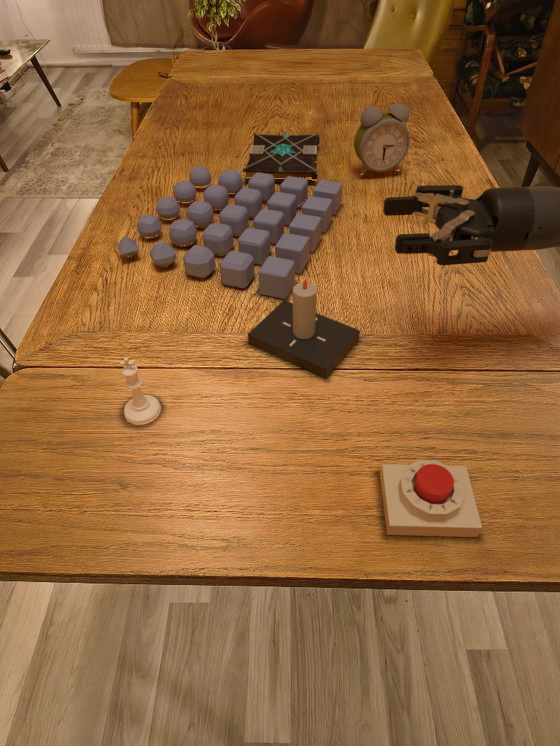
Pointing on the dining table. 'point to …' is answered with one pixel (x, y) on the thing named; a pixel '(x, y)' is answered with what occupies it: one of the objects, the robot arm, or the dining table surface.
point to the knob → (304, 310)
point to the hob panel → (304, 340)
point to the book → (283, 156)
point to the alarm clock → (382, 138)
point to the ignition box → (428, 504)
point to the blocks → (243, 228)
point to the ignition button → (433, 483)
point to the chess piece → (138, 398)
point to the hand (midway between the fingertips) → (389, 224)
